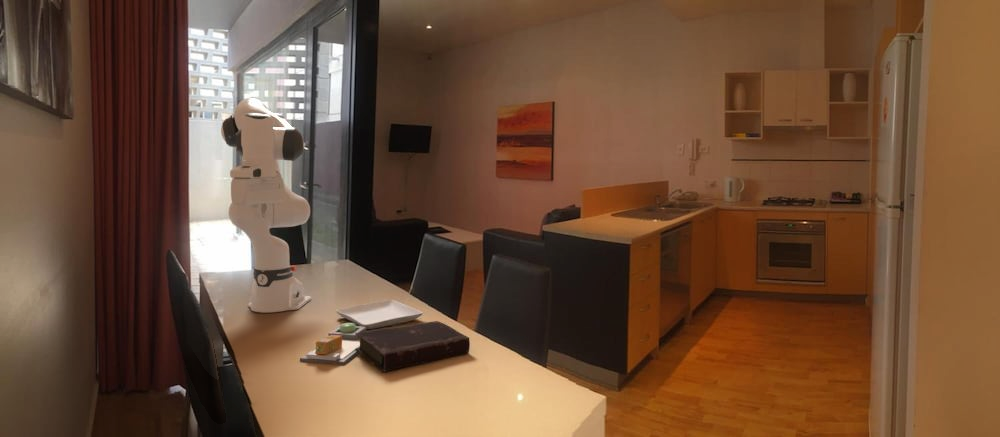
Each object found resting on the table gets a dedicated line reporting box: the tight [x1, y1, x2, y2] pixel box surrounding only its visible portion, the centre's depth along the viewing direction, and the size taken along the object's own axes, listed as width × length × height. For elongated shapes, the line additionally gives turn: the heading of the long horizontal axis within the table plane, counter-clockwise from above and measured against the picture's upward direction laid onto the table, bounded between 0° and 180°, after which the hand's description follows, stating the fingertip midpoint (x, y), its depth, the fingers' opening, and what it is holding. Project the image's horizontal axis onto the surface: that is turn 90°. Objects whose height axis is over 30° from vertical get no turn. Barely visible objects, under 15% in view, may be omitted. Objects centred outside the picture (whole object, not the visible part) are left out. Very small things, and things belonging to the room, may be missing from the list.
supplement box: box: [315, 335, 342, 354], centre depth 143 cm, size 3×3×10 cm
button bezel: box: [327, 325, 367, 341], centre depth 159 cm, size 8×8×2 cm
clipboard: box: [299, 339, 360, 366], centre depth 146 cm, size 16×12×2 cm
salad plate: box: [335, 299, 423, 330], centre depth 177 cm, size 21×21×3 cm
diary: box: [355, 320, 471, 372], centre depth 146 cm, size 19×25×5 cm
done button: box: [339, 322, 357, 333], centre depth 159 cm, size 4×4×3 cm
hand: (260, 219), depth 156 cm, fingers closed
